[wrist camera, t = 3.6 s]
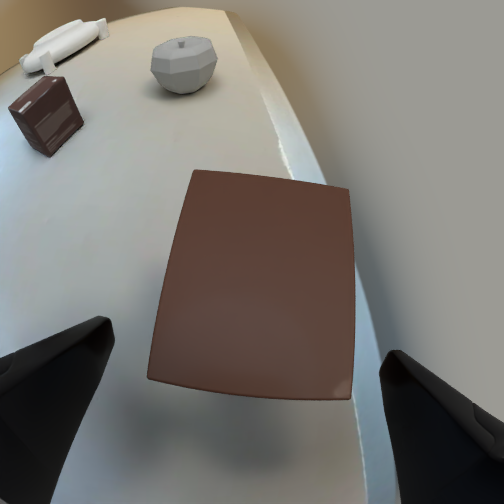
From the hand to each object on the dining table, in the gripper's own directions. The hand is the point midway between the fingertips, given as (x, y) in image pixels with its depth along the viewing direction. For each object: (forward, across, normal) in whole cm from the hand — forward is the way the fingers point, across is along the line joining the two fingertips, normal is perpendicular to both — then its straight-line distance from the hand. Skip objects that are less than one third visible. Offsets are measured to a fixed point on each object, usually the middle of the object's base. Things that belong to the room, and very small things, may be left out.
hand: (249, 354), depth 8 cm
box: (+20, +25, -7) cm, 33 cm away
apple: (+26, +10, -13) cm, 31 cm away
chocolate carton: (+7, 0, +5) cm, 9 cm away
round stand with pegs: (+44, +49, -30) cm, 72 cm away
